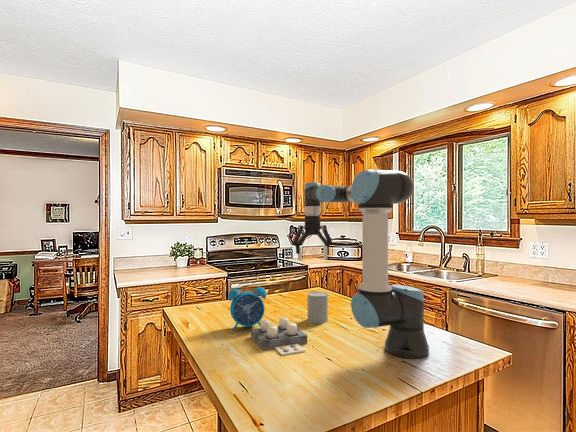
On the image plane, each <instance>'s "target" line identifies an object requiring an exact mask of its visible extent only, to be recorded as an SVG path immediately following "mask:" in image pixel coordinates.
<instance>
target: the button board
mask: <svg viewBox="0 0 576 432" xmlns="http://www.w3.org/2000/svg"><path fill="white" fill-rule="evenodd" d="M276 326H277V327H278V337H276V338H268V337H267V332H263V331H261V330H260V328H259V327H258V328H252V329H250V337H251V339H252V340H253V341H254V342H255V343H256V344H257V345H258V347H259V348H260V349H261V350H262V351H266V350H272V349H275V347H279V346H285V345H292V344H298V345H299V346H300V345H304V344H307V343H308V334H306V333H305V332H304V331H302V330H301V329H300V328H298V327H297V334H296V335H287V329H280V328H279V325H276Z"/></svg>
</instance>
